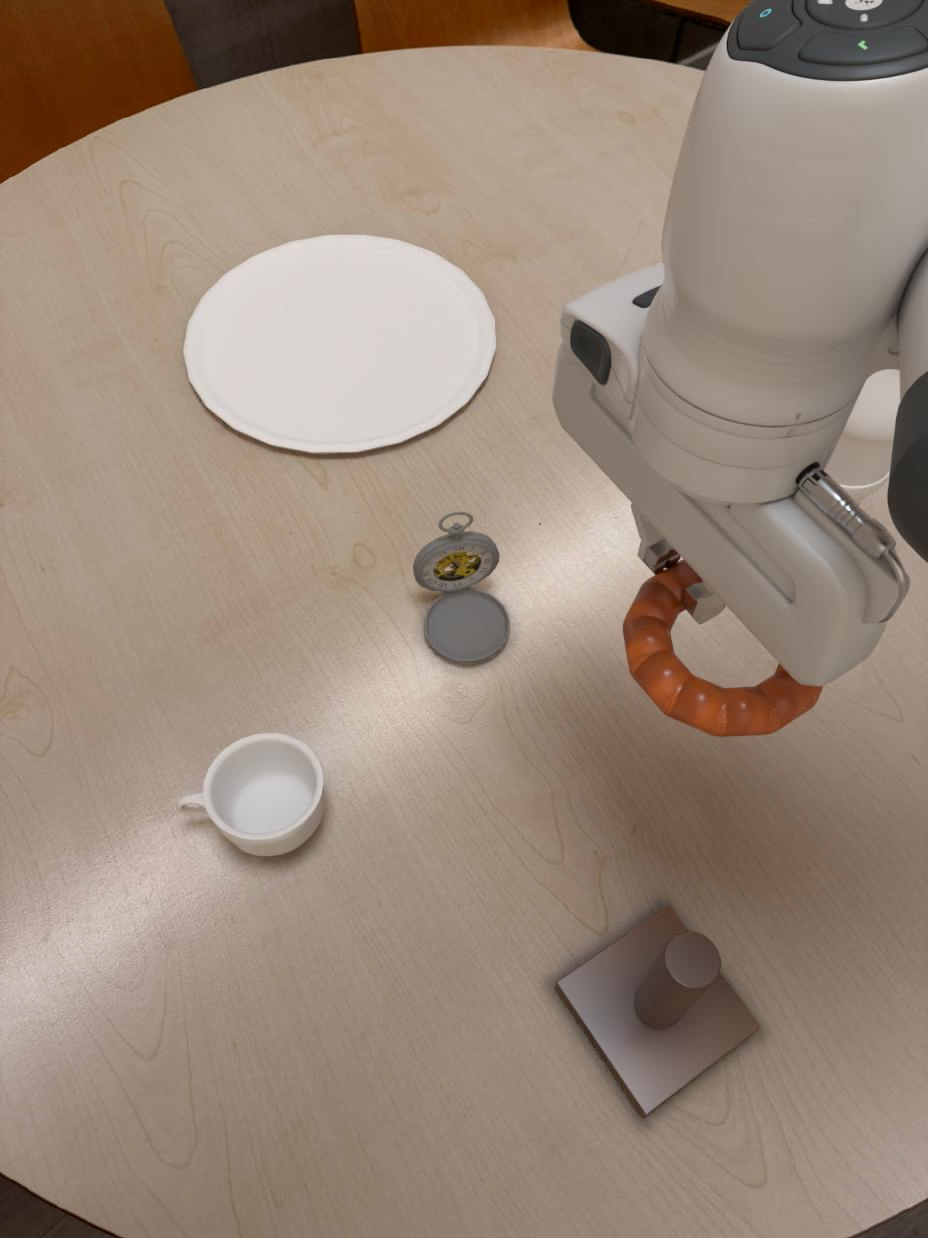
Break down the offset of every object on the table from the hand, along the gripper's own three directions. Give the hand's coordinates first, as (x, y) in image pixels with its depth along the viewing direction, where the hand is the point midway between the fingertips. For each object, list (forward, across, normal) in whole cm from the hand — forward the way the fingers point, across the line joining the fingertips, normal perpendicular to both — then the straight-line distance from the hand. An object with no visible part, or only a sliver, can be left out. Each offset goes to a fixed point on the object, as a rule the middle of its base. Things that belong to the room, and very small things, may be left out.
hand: (678, 584), depth 54 cm
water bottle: (+23, +8, -24) cm, 35 cm away
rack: (+23, -14, +8) cm, 28 cm away
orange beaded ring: (0, -4, 0) cm, 4 cm away
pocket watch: (+23, +16, +3) cm, 29 cm away
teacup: (+23, +10, +24) cm, 35 cm away
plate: (+23, +49, -4) cm, 54 cm away
